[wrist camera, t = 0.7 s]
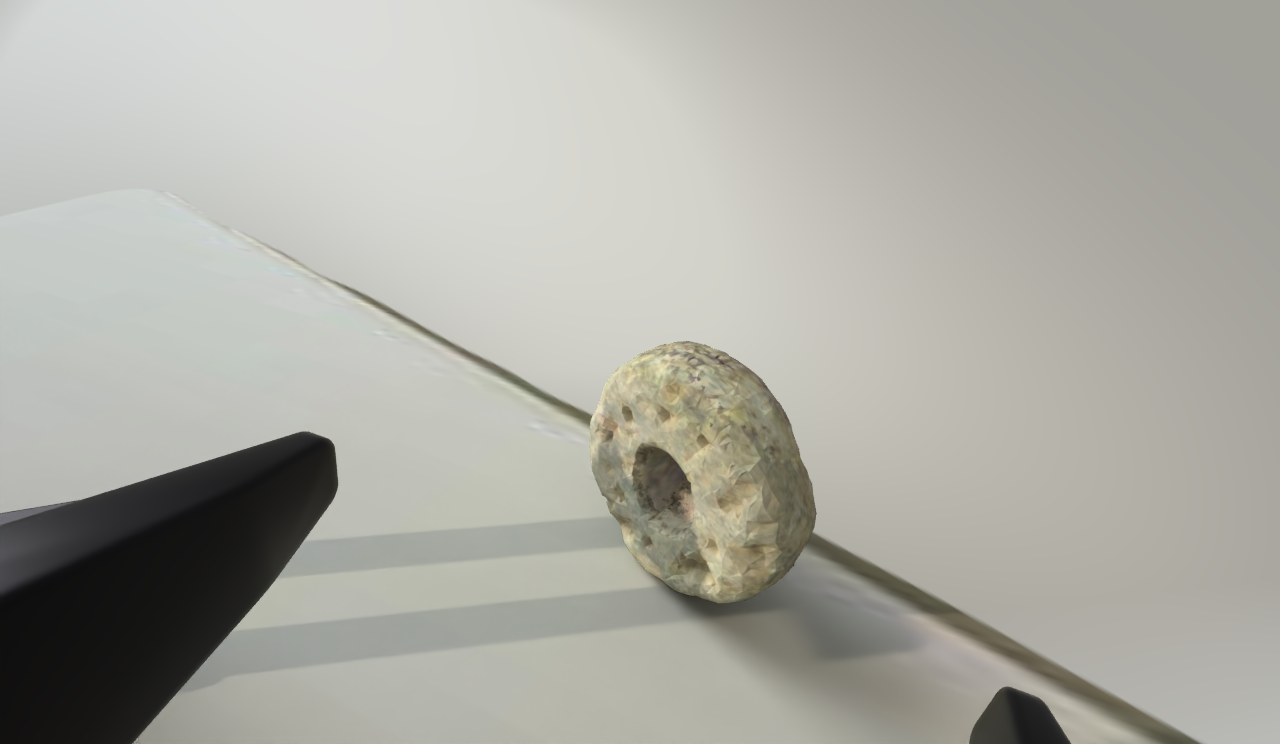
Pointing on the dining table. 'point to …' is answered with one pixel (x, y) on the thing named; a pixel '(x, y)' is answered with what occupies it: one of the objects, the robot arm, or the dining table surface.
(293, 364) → the dining table surface
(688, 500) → the stone ring
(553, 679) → the dining table surface
